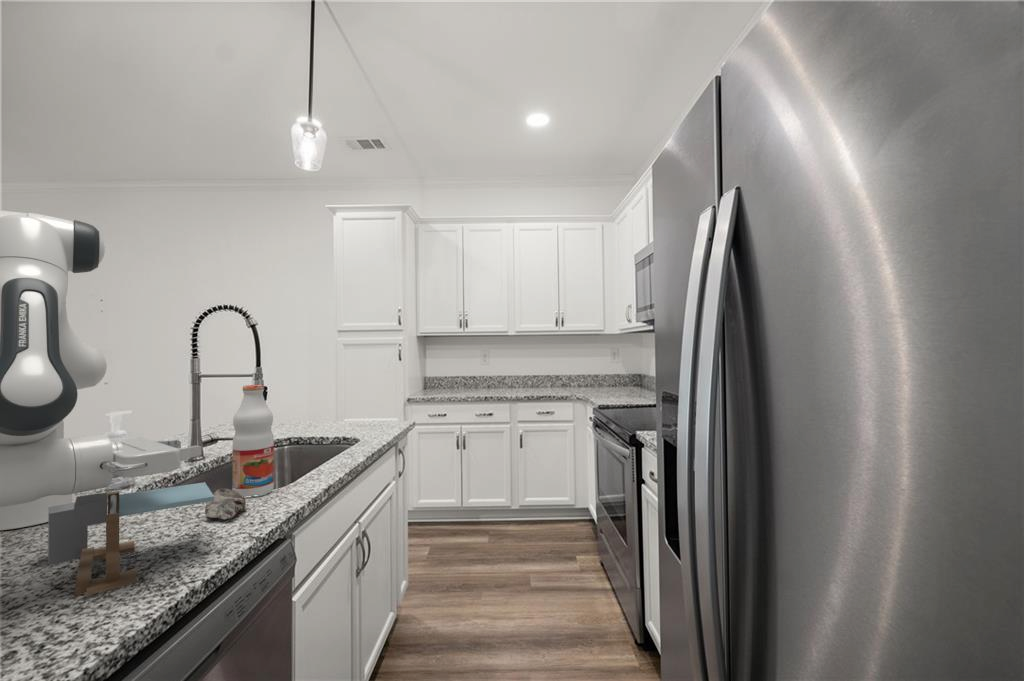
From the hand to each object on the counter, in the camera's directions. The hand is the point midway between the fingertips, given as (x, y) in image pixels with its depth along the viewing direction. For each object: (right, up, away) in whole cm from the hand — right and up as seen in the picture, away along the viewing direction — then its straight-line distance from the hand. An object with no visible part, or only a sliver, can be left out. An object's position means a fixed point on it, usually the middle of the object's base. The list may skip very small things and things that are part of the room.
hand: (189, 447), depth 87 cm
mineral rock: (-5, -20, +18) cm, 27 cm away
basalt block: (-20, -19, -3) cm, 28 cm away
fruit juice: (-6, -20, +33) cm, 39 cm away
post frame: (-8, -19, -8) cm, 22 cm away
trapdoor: (-5, -10, -4) cm, 12 cm away
